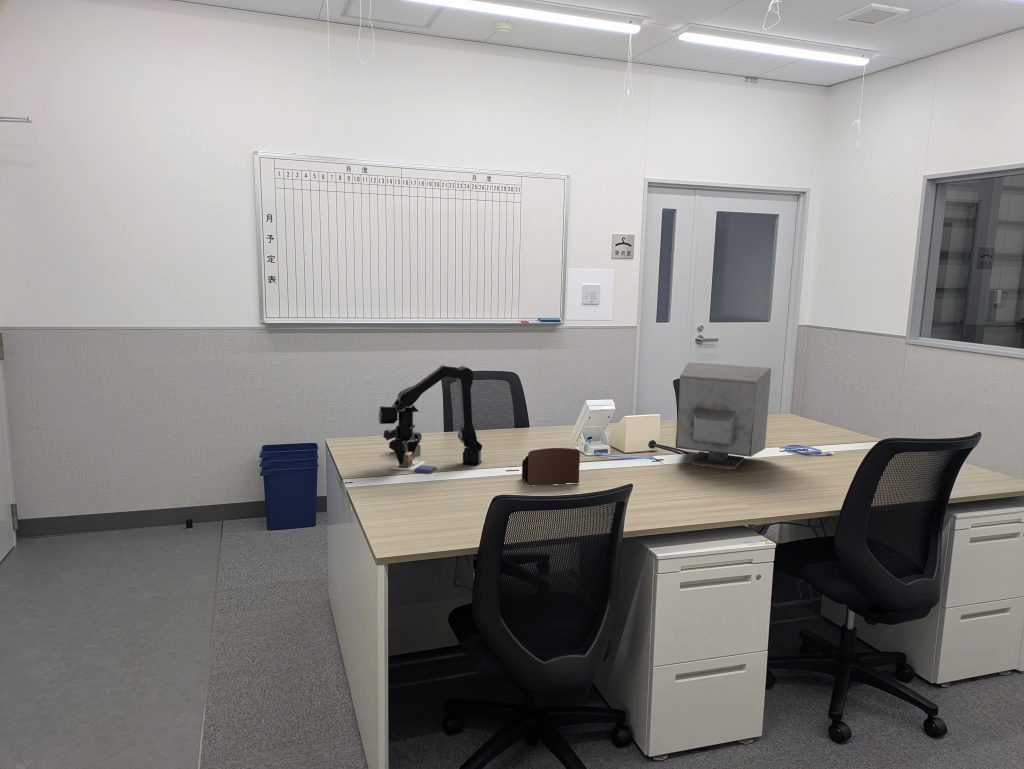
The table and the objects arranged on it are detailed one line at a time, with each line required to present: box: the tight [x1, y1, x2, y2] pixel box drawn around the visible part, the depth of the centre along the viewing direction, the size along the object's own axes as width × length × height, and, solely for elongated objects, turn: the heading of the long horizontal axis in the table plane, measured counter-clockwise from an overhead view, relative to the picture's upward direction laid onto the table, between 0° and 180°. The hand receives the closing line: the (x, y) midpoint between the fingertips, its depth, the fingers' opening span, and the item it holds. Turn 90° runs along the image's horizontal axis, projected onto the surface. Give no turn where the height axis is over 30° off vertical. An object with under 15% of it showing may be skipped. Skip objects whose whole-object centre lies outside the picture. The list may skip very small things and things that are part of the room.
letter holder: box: [521, 447, 581, 486], centre depth 277 cm, size 10×20×14 cm, turn 102°
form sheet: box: [391, 459, 426, 472], centre depth 295 cm, size 9×13×1 cm
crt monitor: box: [675, 361, 772, 470], centre depth 308 cm, size 35×37×40 cm
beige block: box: [399, 452, 413, 468], centre depth 291 cm, size 4×4×6 cm
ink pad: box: [414, 464, 438, 475], centre depth 288 cm, size 7×6×1 cm
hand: (405, 461), depth 292 cm, fingers open, 9 cm apart
